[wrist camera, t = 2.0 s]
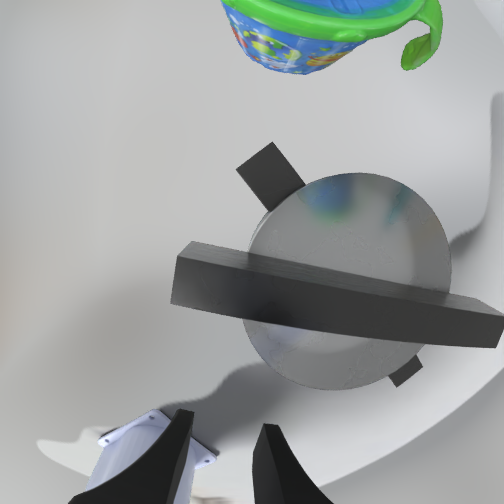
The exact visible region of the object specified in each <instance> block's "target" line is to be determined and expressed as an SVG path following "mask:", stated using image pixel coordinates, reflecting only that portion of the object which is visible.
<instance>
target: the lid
mask: <svg viewBox="0 0 504 504" xmlns="http://www.w3.org/2000/svg"><path fill="white" fill-rule="evenodd" d="M450 284H451V256H450V250H449V245H448V241H447V238H446V235H445V232H444V230H443V228H442V225H441V223H440V221H439V220H438V218H437V216H436V215H435V213H434V212H433V210H432V209H431V207H430V206H429V205H428V204H427V203H426V202H425V201H424V200H423V198H421V197H420V196H419V195H418V194H417V193H416V192H414V191H413V190H411V189H410V188H409V187H407V186H405V185H404V184H402V183H400V182H397V181H395V180H393V179H391V178H388V177H384V176H380V175H376V174H368V173H348V174H338V175H334V176H329V177H325V178H322V179H319V180H317V181H314V182H311V183H309V184H307V185H305V186H303V187H302V188H300V189H298V190H296V191H295V192H293V193H292V194H291V195H289V196H288V197H286V198H285V199H284V200H283V201H282V202H280V203H279V204H278V205H277V206H276V207H275V208H274V209H273V210H272V211H271V212H270V214H269V215H268V216H267V217H266V219H265V220H264V221H263V222H262V224H261V225H260V227H259V229H258V230H257V232H256V234H255V235H254V237H253V239H252V241H251V243H250V246H249V248H248V250H247V252H243V251H239V250H234V249H229V248H224V247H219V246H214V245H209V244H204V243H199V242H195V241H192V242H191V243H190V244H188V246H187V247H186V248H185V249H184V250H183V251H182V252H181V253H180V254H179V255H178V256H177V261H176V267H175V274H174V281H173V288H172V295H171V304H174V305H179V306H183V307H188V308H192V309H197V310H202V311H206V312H211V313H216V314H221V315H226V316H231V317H237V318H242V319H243V323H244V326H245V329H246V332H247V334H248V337H249V339H250V341H251V343H252V345H253V346H254V348H255V349H256V351H257V352H258V354H259V355H260V356H261V358H262V359H263V360H264V361H265V362H266V363H267V364H268V365H269V366H270V367H271V368H272V369H274V370H275V371H276V372H277V373H279V374H280V375H282V376H284V377H285V378H287V379H289V380H291V381H293V382H295V383H298V384H300V385H303V386H307V387H310V388H315V389H322V390H344V389H352V388H357V387H361V386H365V385H367V384H370V383H373V382H376V381H378V380H380V379H382V378H384V377H386V376H388V375H390V374H391V373H393V372H395V371H396V370H398V369H399V368H400V367H402V366H403V365H404V364H406V363H407V362H408V361H409V360H410V359H411V358H412V357H413V356H415V355H416V354H417V353H418V351H419V350H420V349H421V348H422V347H423V346H424V344H432V345H445V346H460V347H479V348H496V347H497V344H498V342H499V340H500V337H501V335H502V332H503V330H504V314H502V313H501V312H499V311H497V310H495V309H494V308H492V307H490V306H488V305H487V304H485V303H483V302H481V301H480V300H478V299H475V298H470V297H465V296H460V295H455V294H450V293H449V289H450Z"/></svg>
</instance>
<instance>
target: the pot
mask: <svg viewBox="0 0 504 504" xmlns="http://www.w3.org/2000/svg"><path fill="white" fill-rule="evenodd" d="M236 171H237V172H238V173H239V174H240V176H241V177H242V178H243V179H244V181H245V182H246V183H247V185H248V186H249V187H250V188H251V190H252V191H253V192H254V194H255V195H256V196H257V197H258V199H259V200H260V201H261V202H262V204H263V205H264V206H265V208H266V209H267V210H268V212H267V213H266V214H265V215H264V217H263V219H262V220H261V221H260V223H259V224H258V226H257V228H256V230H255V232H254V234H253V236H252V239H253V237H254V235H255V234H256V232H257V230H258V229H259V227H260V225H261V224H262V222H263V221H264V220H265V219H266V217H267V216H268V215H269V214H270V212H271V211H272V210H273V209H274V208H275V207H276V206H277V205H278V204H279V203H280V202H282V201H283V200H284V199H285V198H286V197H288V196H289V195H291V194H292V193H293V192H295V191H296V190H298V189H300V188H302V187H303V186H305V185H306V184H305V183H304V182H303V180H302V179H301V178H300V176H299V175H298V174H297V172H296V171H295V170H294V168H293V167H292V166H291V165H290V163H289V162H288V161H287V159H286V158H285V157H284V156H283V154H282V153H281V152H280V150H279V149H278V148H277V147H276V145H275V144H274V143H273V142H271V143H270V144H269V145H267V146H266V147H265V148H263V149H262V150H261V151H259V152H258V153H256V154H255V155H254V156H253V157H251V158H250V159H249V160H247V161H246V162H245V163H244V164H242V165H241V166H239V167H238V168H237V169H236ZM252 239H251V241H252ZM250 243H251V242H250ZM249 246H250V245H249ZM422 367H423V366H422V364H421V362H420V361H419V359H418V357H417V355H415V356H413V357H412V358H411V359H410V360H409V361H408V362H407V363H406V364H404V365H403V366H402V367H400V368H399V369H398V370H396V371H395V372H393V373H391V374H390V375H388V376H389V378H390V379H391V380H392V382H393V383H394V385H395V386H396V388H397V387H398V386H400V385H401V384H402V383H403V382H405V381H406V380H407V379H409V378H410V377H411V376H412V375H414V374H415V373H416V372H417V371H419V370H420V369H421V368H422Z"/></svg>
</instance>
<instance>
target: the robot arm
mask: <svg viewBox="0 0 504 504" xmlns="http://www.w3.org/2000/svg"><path fill="white" fill-rule="evenodd" d="M151 416H153V417H151ZM193 418H194V412H192V411H187V410H183V409H179V410H177V411H176V414H175V415H174V417H173V419H172V420H170V419H169V418H168V417H166V416H165V415H164V414H163V413H162V412H161V411H159V410H157V409H152V410H150V411H149V412H147V413H145V414H144V415H142V416H140V417H138V418H136V419H134V420H133V421H131V422H129V423H127V424H125V425H123V426H122V427H120V428H118V429H116V430H114V431H112V432H110V433H108V434H106V435H105V436H103V437H101V438H99V439H98V444H99V445H101V446H102V447H103V448H104V449H103V451H102V453H101V455H100V457H99V460H98V462H97V464H96V466H95V468H94V470H93V472H92V474H91V477H90V479H89V481H88V483H87V486H86V491H85V492H83V493H81V494H78V495H76V496H74V497H73V498H72V499H71V501H70V502H69V503H68V504H189V503H190V496H191V490H192V483H193V477H194V470H196V469H198V468H201V467H203V466H206V465H208V464H211V463H213V462H215V461H216V460H217V457H216V455H214V454H213V453H212V452H210V451H209V450H208V449H206V448H205V447H204V446H202V445H201V444H200V443H198V442H197V441H196V440H194V439H193V438H192V437H191V431H192V425H193ZM252 476H253V487H254V498H255V504H334V503H332V502H331V501H330V500H329V499H328V498H327V497H326V496H325V495H324V494H323V493H322V492H321V491H320V490H319V488H318V487H317V486H316V485H315V484H314V483H313V482H312V480H311V479H310V478H309V476H308V475H307V474H306V472H305V471H304V470H303V468H302V467H301V465H300V464H299V462H298V460H297V459H296V457H295V456H294V454H293V452H292V451H291V449H290V447H289V445H288V443H287V441H286V439H285V437H284V435H283V433H282V431H281V429H280V427H279V426H278V425H274V424H265V423H264V424H263V426H262V429H261V432H260V435H259V438H258V440H257V443H256V446H255V449H254V451H253V464H252Z"/></svg>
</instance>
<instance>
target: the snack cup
mask: <svg viewBox="0 0 504 504" xmlns="http://www.w3.org/2000/svg"><path fill="white" fill-rule="evenodd" d="M221 3H222V5H223V8H224V10H225V11H226V14H227V17H228V19H229V21H230V25H231V27H232V30H233V32H234V34H235V37H236V38H237V41H238V43H239V45H240V46H241V47H242V49H243V50H244V52H245V53H246V55H247V56H249V57H250V58H251V59H252V60H253V61H256V62H257V63H260V64H262V65H263V66H264V67H265V68H268V69H270V70H274V71H278V72H284V73H292V74H303V75H306V74H309V73H311V72H314V71H318V70H322V69H324V68H326V67H328V66H329V65H331V64H333V63H334V62H336V61H337V60H338V59H340V58H342V57H343V56H345V55H346V54H348V53H349V52H351V51H352V50H353V49H354V48H356V47H357V46H359V45H361V44H363V43H365V42H366V41H367V40H369V39H373V38H377V37H382V36H385V35H387V34H389V33H391V32H394V31H396V30H397V29H399V28H401V27H402V26H404V25H405V24H406V23H407V22H408V21H410V20H419V21H422V22H424V23H425V24H427V25H429V26H430V33H429V34H425V35H423V36H421V37H417V38H415V39H413V40H411V41H410V42H409V43H408V44H406V46H405V49H404V51H403V55H402V59H401V66H402V68H403V69H404V70H406V71H407V70H411V69H412V70H413V69H416V68H417V67H419V66H421V65H422V64H423V63H425V62H426V61H427V60H428V59H429V58H430V57H431V56H432V55H433V54H434V53H435V51H436V50H437V49H438V46H439V44H440V39H441V33H442V26H443V18H442V11H441V6H440V4H439V1H438V0H221Z"/></svg>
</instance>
